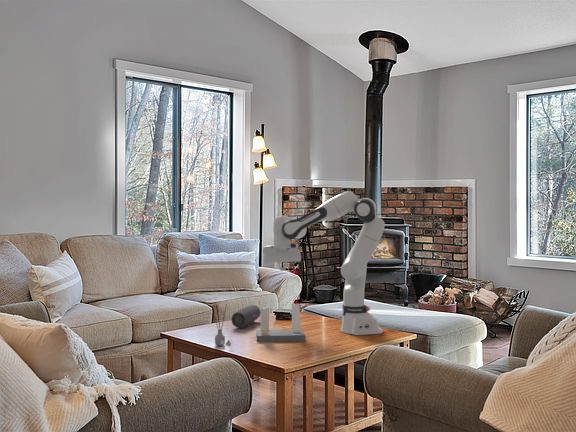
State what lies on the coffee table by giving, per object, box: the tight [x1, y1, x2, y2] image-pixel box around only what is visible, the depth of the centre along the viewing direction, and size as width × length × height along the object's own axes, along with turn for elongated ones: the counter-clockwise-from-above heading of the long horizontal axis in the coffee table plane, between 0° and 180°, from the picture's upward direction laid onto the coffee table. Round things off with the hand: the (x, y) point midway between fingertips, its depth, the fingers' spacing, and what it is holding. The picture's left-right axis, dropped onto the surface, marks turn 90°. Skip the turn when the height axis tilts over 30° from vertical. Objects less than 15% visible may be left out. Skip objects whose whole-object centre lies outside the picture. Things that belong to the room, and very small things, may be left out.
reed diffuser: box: [211, 304, 231, 346], centre depth 294 cm, size 10×7×20 cm
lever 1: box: [260, 307, 270, 333], centre depth 303 cm, size 4×2×14 cm, turn 94°
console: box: [255, 329, 306, 343], centre depth 307 cm, size 24×12×3 cm, turn 94°
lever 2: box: [291, 303, 301, 331], centre depth 310 cm, size 4×2×14 cm, turn 94°
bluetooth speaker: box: [231, 304, 261, 328], centre depth 337 cm, size 23×9×10 cm, turn 162°
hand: (282, 270), depth 331 cm, fingers closed
